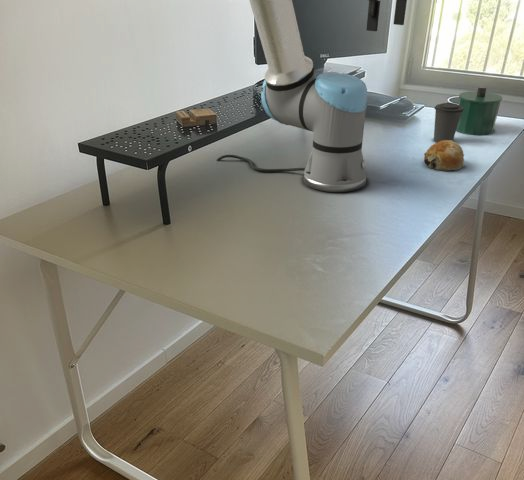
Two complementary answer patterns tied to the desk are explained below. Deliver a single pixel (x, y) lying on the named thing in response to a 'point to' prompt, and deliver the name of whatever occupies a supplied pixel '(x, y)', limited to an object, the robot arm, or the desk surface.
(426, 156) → the bread roll
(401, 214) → the desk surface
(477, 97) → the pot lid
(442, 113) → the coffee cup
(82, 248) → the desk surface
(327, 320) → the desk surface
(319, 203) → the desk surface
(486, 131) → the pot
